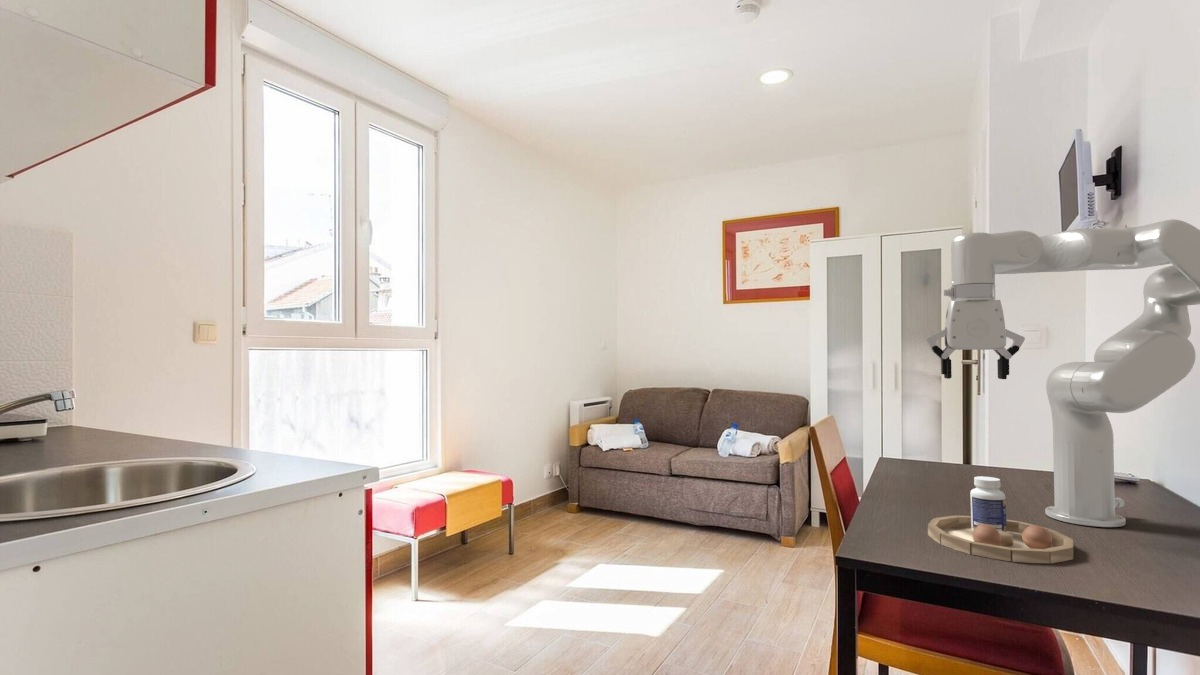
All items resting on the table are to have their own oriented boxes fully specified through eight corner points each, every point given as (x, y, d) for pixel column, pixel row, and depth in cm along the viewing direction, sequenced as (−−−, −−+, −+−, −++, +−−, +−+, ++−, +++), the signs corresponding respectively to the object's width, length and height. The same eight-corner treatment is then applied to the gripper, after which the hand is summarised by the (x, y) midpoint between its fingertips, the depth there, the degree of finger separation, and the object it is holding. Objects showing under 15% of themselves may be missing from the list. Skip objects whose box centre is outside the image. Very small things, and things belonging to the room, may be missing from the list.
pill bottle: (1012, 538, 105) (1010, 482, 105) (977, 536, 106) (976, 480, 107) (999, 529, 110) (997, 476, 111) (966, 527, 112) (965, 475, 112)
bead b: (1032, 545, 101) (1032, 521, 101) (1058, 552, 98) (1057, 527, 98) (1016, 548, 100) (1016, 523, 100) (1042, 555, 96) (1041, 530, 96)
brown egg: (983, 544, 102) (983, 520, 102) (1007, 551, 98) (1006, 526, 98) (966, 547, 100) (966, 522, 100) (990, 554, 97) (989, 529, 97)
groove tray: (982, 526, 116) (981, 511, 116) (1102, 559, 97) (1102, 542, 97) (903, 537, 109) (903, 522, 109) (1017, 576, 90) (1017, 557, 90)
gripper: (929, 294, 121) (930, 378, 121) (1029, 291, 116) (1031, 380, 116) (922, 297, 129) (923, 377, 128) (1016, 295, 123) (1018, 378, 123)
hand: (974, 378), depth 122 cm, fingers open, 9 cm apart
